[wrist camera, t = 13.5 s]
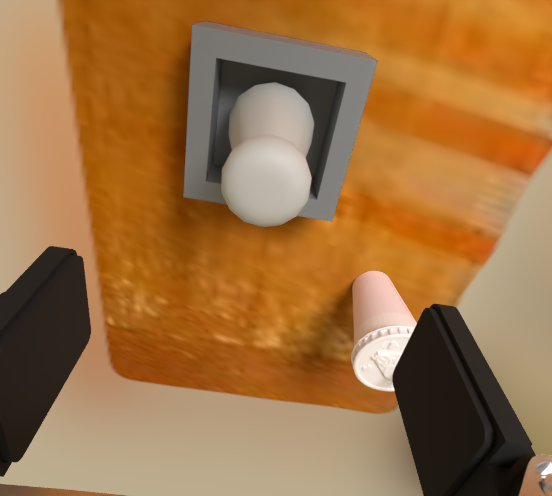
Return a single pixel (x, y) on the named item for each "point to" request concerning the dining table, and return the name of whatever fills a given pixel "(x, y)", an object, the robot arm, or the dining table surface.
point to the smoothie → (378, 329)
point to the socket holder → (284, 70)
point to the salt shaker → (268, 155)
